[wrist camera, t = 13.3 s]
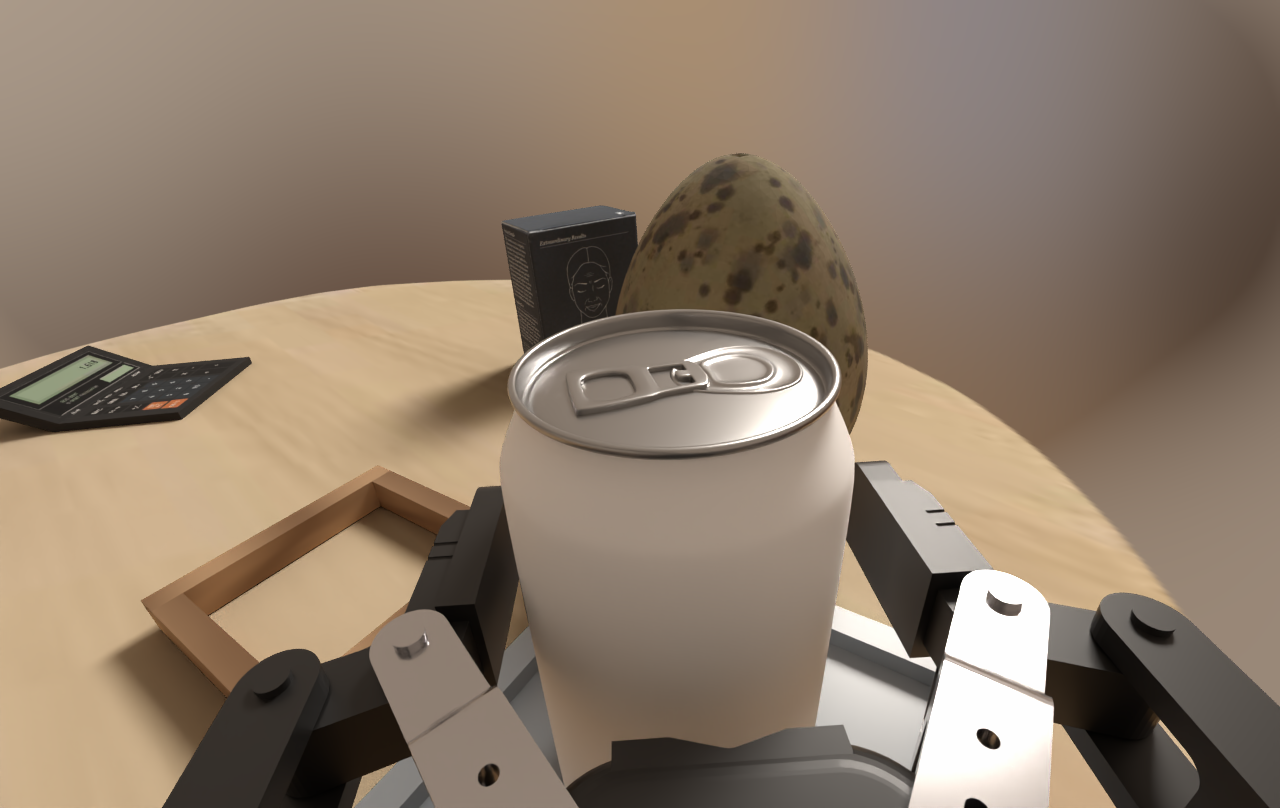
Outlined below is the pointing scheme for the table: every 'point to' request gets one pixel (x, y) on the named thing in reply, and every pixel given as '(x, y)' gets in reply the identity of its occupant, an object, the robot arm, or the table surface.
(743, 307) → the decorative egg
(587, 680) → the can
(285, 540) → the frame
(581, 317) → the box
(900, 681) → the tray
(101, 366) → the calculator
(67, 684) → the table surface
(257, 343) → the table surface
